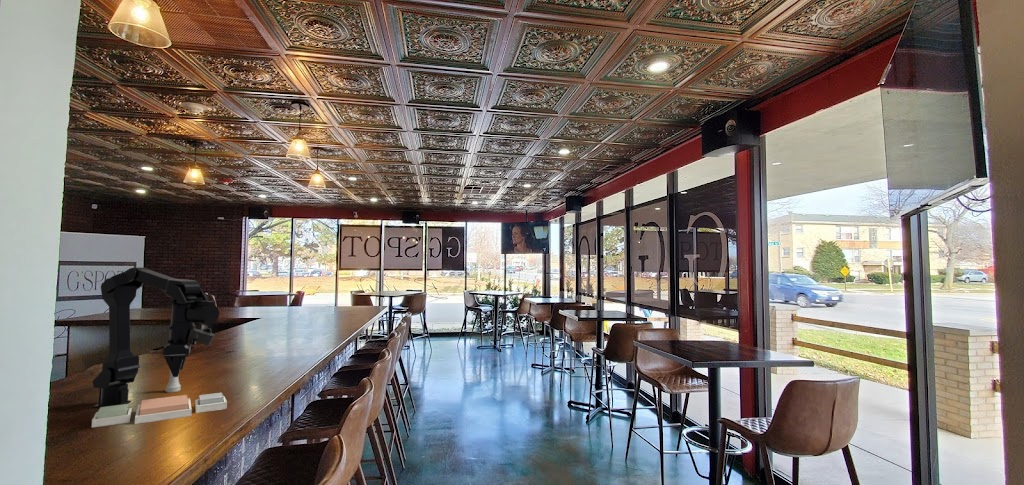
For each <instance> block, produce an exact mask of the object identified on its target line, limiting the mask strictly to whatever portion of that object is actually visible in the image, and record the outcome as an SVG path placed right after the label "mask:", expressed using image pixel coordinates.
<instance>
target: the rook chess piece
mask: <svg viewBox="0 0 1024 485" xmlns="http://www.w3.org/2000/svg"><path fill="white" fill-rule="evenodd" d="M168 373H169V375H168V376H169V380H168V384H167V385H166V387H165V393H169V394H170V393H177V392H180V391H181V390H182V388H181V387H182V385H181V384H180V380H179V376H178V377H173V375H172V373H171V371H170V369H169V371H168Z"/></svg>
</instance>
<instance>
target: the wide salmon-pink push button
mask: <svg viewBox="0 0 1024 485" xmlns="http://www.w3.org/2000/svg"><path fill="white" fill-rule="evenodd" d="M191 403H192V402H191V398H188V409H185V410H177V411H170V412H162V413H155V414H148V415H140V407H141V404H138V405H137V407H136V413H135V417H134V425H139V424H143V423H144V424H146V423H151V422H159V421H165V420H171V419H172V420H174V419H179V418H185V417H186V418H187V417H192V412H193V410H192V404H191Z"/></svg>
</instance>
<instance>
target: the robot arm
mask: <svg viewBox="0 0 1024 485" xmlns="http://www.w3.org/2000/svg"><path fill="white" fill-rule="evenodd" d="M144 285H147V286H150V287H153V288H156V289H159V290H162V291H163V292H164V293H165V295H166V296H167V297H169V298H171V300H170V301H168V302H167V303H166V306H167V307H172V308H171V316H170V317H171V318H170V325H169V326H168V327H169V329H168V330H169V339H168V341H167V345H165V346H164V347H163V348H162V356H163V358H164V359H165V362H166V364H167V366H168V369H169V370H170V371H171V373H172V375H173V377H178V378H179V376H180V371H182V370H183V369H184V367H185V366H184V365H185V363H186V359H187V357H188V356H190V354H191V350H193V349H194V348H195V345H196V344H197V343H199V344H203V345H205V346H208V347H209V346H211V343H212V341H213V339H214V338H215V335H216V334H214V333H213V332H212V328H210V327H205V328H204V329H198V328H196V324H205V325H211V324H214V323H216V321H218V319H219V317H220V310H219V307H217V306H216V305H215V301H214V300H208V298H207V296H206V294H205V293H204V291H203V289H202V286H201V285H200V282H199V281H198V280H194V279H185V278H184V279H183V278H175V277H171V276H168V275H167V274H163V273H160V272H157V271H154V270H151V269H150V268H147V267H137V266H135V267H130V268H128V269H127V270H126V271H123V272H120V273H118V274H115V275H113V276H111V277H109V278H106V279H105V280H104V281H103V282H102V283H101V285H100V292H101V298H102V300H103V301H104V302H105V304H106V305H107V306H108V322H109V323H108V327H109V329H108V330H109V331H108V332H109V336H108V337H109V340H108V342H109V344H108V345H109V347H108V348H109V354H108V355H107V356H106V358H105V359H104V361H103V362H102V366H101V372H99V373H98V374H97V376H95V378H93V380H92V384H93V388H96V389H99V392H98V403H97V404H94V405H93V406H92V407H93V408H100V407H107V406H115V405H123V404H129V403H131V402H132V400H131V399H129V390H130V389H129V388H128V387H129V384H130V383H134V381H135V379H136V377H137V375H138V373H139V369H140V368H141V367H140V363H139V362H140V356H139V355H138V354H137V355H135V354H134V353H133V352H132V351H131V304H132V303H133V302H134V300H135V298H136V297H137V290H139V289H140V288H142V287H143V286H144Z"/></svg>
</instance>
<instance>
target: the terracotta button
mask: <svg viewBox="0 0 1024 485" xmlns="http://www.w3.org/2000/svg"><path fill="white" fill-rule="evenodd" d="M188 399H189V398H188V394H183V395H175V396H165V397H157V398H151V399H150V398H149V399H142V400H141V404H140V405H141V407H140V414H139V416H140V415H148V414H155V413H162V412H170V411H177V410H185V409H188Z"/></svg>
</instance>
